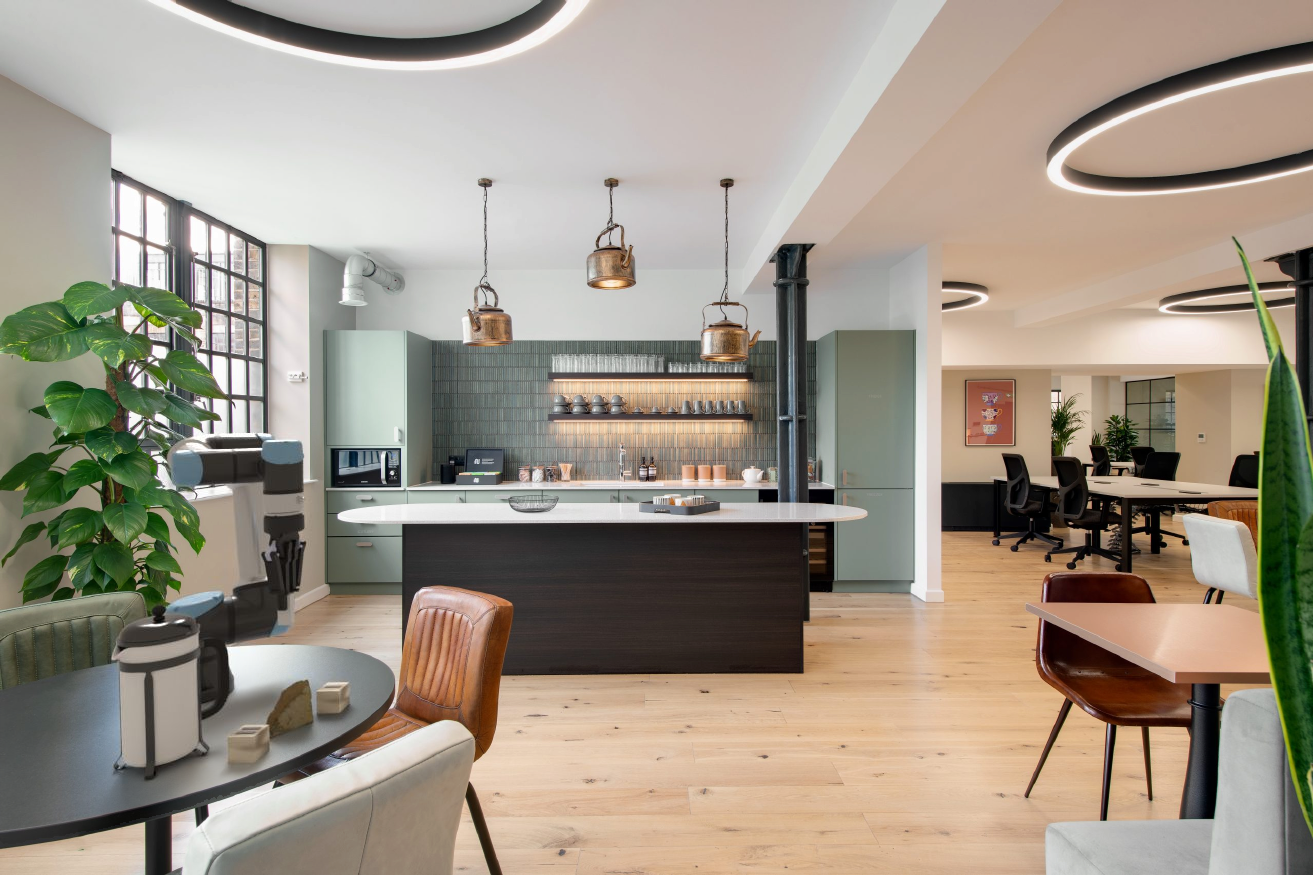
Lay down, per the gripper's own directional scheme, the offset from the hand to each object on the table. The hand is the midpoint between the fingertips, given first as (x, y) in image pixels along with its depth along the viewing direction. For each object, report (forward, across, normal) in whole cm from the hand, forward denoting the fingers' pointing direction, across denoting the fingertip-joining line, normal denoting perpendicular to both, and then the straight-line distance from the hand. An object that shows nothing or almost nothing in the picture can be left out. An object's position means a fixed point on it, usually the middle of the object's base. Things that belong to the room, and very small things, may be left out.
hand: (286, 624), depth 138 cm
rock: (+22, 0, 0) cm, 22 cm away
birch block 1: (+22, -12, +1) cm, 25 cm away
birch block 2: (+22, +8, -5) cm, 24 cm away
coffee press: (+22, -13, +16) cm, 30 cm away
